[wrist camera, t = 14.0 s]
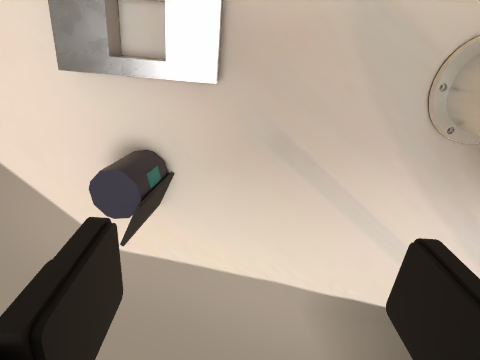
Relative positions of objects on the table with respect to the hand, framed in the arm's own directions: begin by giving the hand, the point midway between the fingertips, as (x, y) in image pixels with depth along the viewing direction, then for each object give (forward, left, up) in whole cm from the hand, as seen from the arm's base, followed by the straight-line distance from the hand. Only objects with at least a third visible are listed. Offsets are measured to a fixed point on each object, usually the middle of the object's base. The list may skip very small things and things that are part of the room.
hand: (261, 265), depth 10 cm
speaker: (+12, +10, -28) cm, 32 cm away
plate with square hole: (+11, -7, -28) cm, 31 cm away
